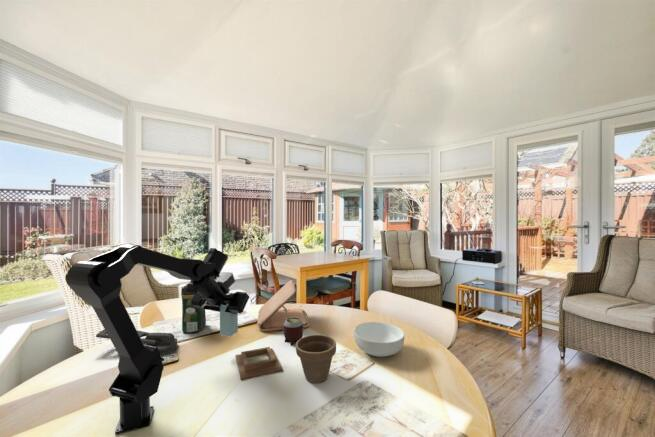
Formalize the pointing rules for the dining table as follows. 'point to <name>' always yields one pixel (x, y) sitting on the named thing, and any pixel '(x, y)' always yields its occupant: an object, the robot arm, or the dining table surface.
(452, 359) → the dining table surface
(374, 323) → the cereal bowl
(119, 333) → the robot arm
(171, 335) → the zipper pull
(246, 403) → the dining table surface
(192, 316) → the coffee jar
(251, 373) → the picture frame
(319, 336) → the flower pot
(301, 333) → the mate gourd
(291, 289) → the case
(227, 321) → the pale blue rectangular block
